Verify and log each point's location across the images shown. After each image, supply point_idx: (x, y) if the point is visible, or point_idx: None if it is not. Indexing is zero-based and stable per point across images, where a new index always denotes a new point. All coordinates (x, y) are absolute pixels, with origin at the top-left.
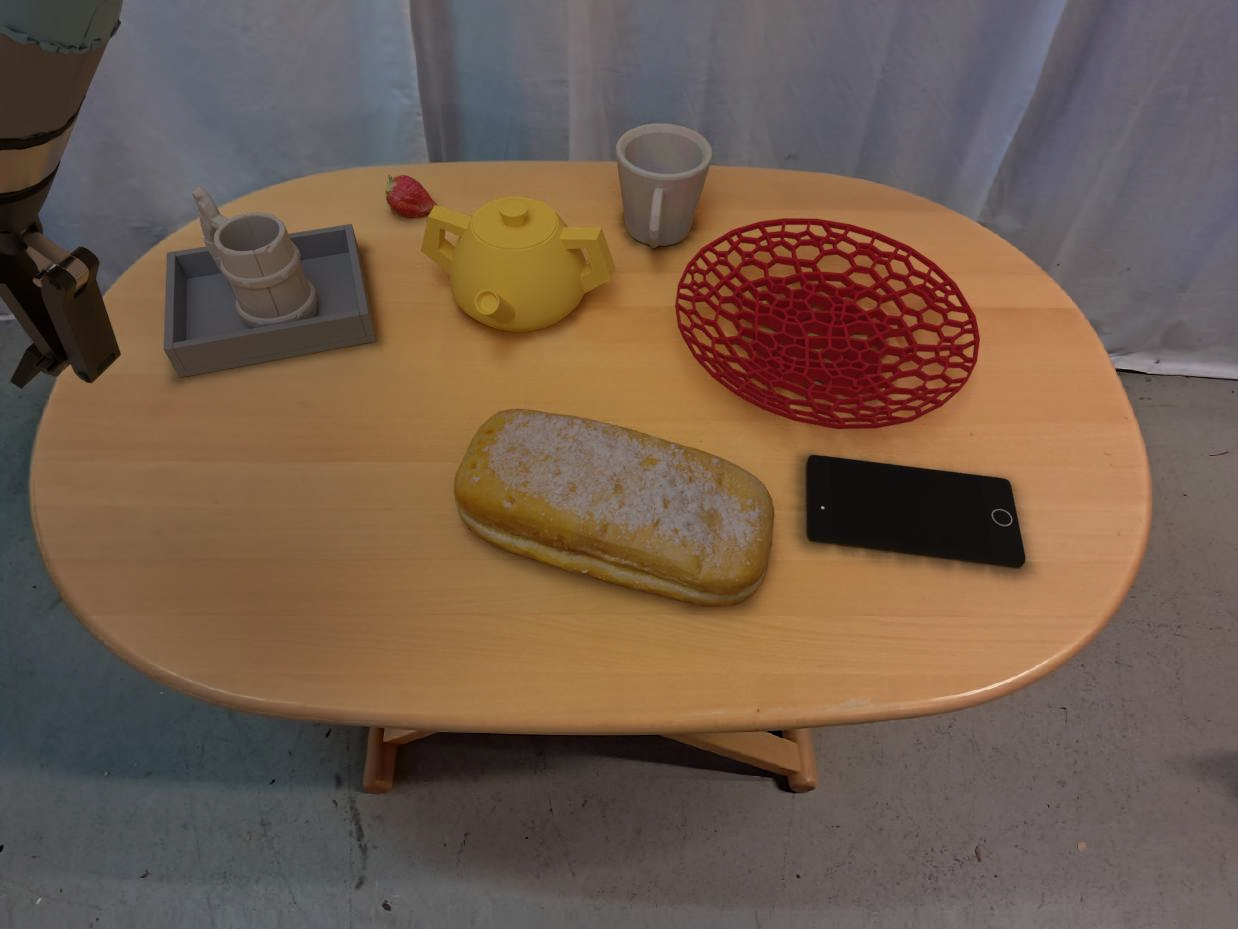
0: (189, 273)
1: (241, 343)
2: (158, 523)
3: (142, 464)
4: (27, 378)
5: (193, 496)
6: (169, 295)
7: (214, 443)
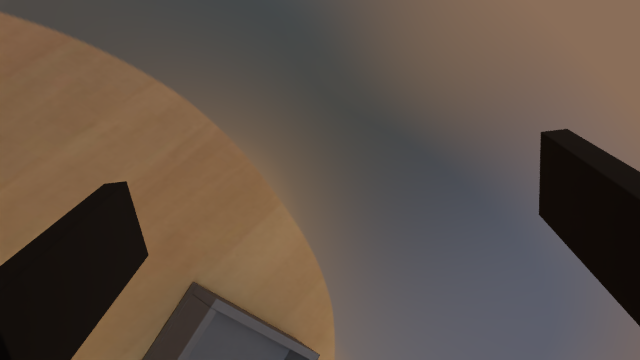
0: (292, 354)
1: None
2: (9, 149)
3: None
4: (67, 214)
5: (11, 204)
6: (274, 335)
7: None
